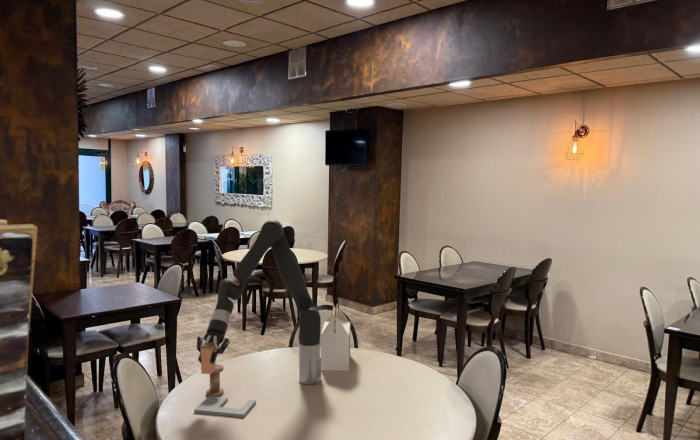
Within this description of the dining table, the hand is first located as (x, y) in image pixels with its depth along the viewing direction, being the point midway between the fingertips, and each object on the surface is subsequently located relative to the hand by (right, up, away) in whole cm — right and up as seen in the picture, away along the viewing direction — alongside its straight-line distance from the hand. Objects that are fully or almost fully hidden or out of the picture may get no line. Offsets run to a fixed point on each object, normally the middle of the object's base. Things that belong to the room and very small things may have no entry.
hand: (206, 362), depth 182 cm
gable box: (+49, -16, +49) cm, 71 cm away
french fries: (+33, -14, +65) cm, 74 cm away
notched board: (+8, -18, 0) cm, 19 cm away
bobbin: (0, -17, +13) cm, 21 cm away
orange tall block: (0, -4, +2) cm, 5 cm away
